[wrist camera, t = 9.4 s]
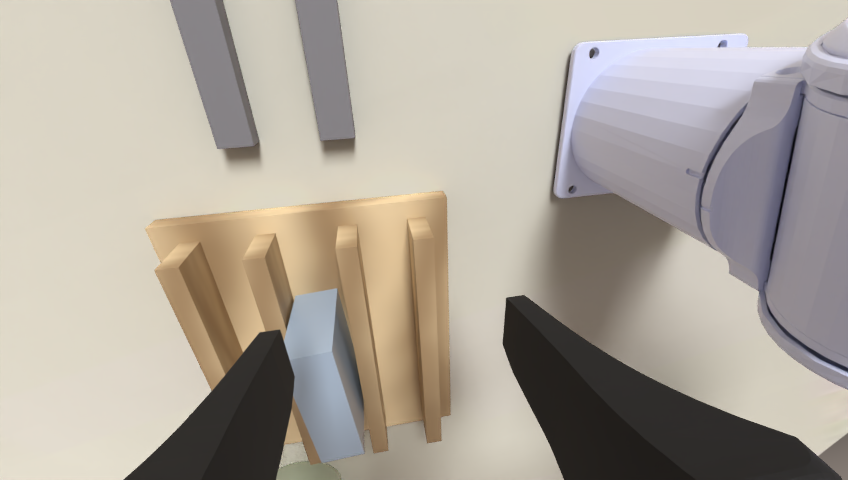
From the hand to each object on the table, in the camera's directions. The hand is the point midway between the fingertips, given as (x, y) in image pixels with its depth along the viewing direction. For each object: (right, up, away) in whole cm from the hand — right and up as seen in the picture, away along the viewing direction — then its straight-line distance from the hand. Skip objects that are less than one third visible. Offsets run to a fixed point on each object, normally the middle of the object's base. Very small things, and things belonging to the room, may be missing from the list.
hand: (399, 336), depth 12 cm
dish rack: (-5, -3, +12) cm, 13 cm away
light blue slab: (-5, -3, +11) cm, 13 cm away
